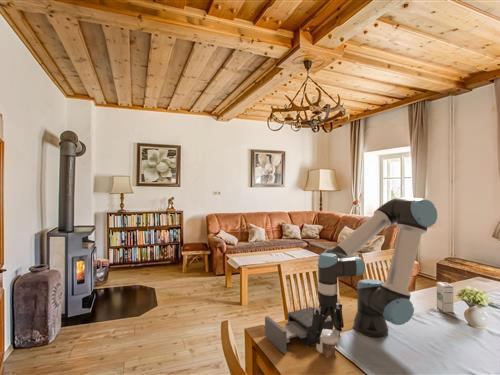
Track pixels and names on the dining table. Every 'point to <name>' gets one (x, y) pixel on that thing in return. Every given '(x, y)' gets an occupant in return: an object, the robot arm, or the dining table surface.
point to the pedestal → (328, 350)
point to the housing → (308, 324)
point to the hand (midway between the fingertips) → (327, 348)
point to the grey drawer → (283, 333)
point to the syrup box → (445, 297)
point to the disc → (329, 336)
